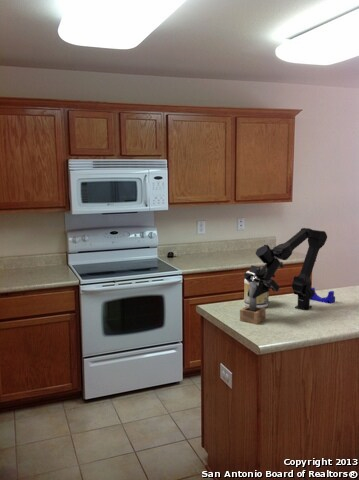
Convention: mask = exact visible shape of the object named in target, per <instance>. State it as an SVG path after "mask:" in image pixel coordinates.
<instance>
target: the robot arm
mask: <svg viewBox="0 0 359 480" xmlns="http://www.w3.org/2000/svg"><path fill="white" fill-rule="evenodd" d="M327 239H328V234H327V232H326V231H325V230H317V229H311V228H309V227H308V228H307V227H302V228H300V230H299V231H298V232H296V233H295V234H294V235H293V236H292V237H291V238H289V239H288V240H286V241H285V242H283V243H279V244H278V245H276V246H274V247H273V248H270V246H269V244H264V245H263V246H260V247H259V248H257V249H256V250H255V255H256V256H257V257H258V259H259V260H260V262H262V263H263V264H265V265H264V266H263V265H261V266H260V267H259V266H256V265H252V264H251V265H250V269H249V270H248V271H249V272H252V273H254V275H255V276H256V277H257V278H256V277H255V276H254V275H253V274H251V273H246V272H245V273H244V275H243V278H244V280H245V279H246V280H247V281H248V282H257V284H258V283H259V286H258V285H257V290H256V291H255V293H254V295H253V298H256V297H258V296H260V295H261V294H263V293H266V292H268V291H269V292H270V291H271V290H272V291H273V292H274V293H277V292H278V291H279V290H280V285H279V284H278V283H277V282H276V281H275V279H274V278H275V277H276V275H275V274H276V272H277V271H278V269H279V268H281V269H284V264H283V261H287V260H288V259H289V258H290V256H292V254H293V251H294V250H295V249H296V248H298V247H299V246H300V245H301V244H302V243H304V242H305V241H306V240H307V244H308V248H307V252H306V255H305V257H304V261H303V264H302V266H301V270H300V272H299V274H298V275H295V276H293V280H292V282H291V288H292V291H293V295H296V296H297V305H296V306H294V309H298V310H299V309H300V310H303V311H304V310H305V311H309V310H310V309H311V308H312V307H313V306H312V305H311V304H310V303H311V302H310V301H311V300H310V298H312V297H314V294H315V292H316V291H315V292H314V291H313V290H312V289H311V288H312V281H311V277H312V273H313V271H314V266H315V264H316V260H317V257H318V254H319V252H320V249H322V248H323V247H324V246H325V243H326V241H327ZM280 260H281V261H280ZM272 278H273V279H272ZM270 289H271V290H270ZM247 295H248V296H249V291H248V294H247Z"/></svg>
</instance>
